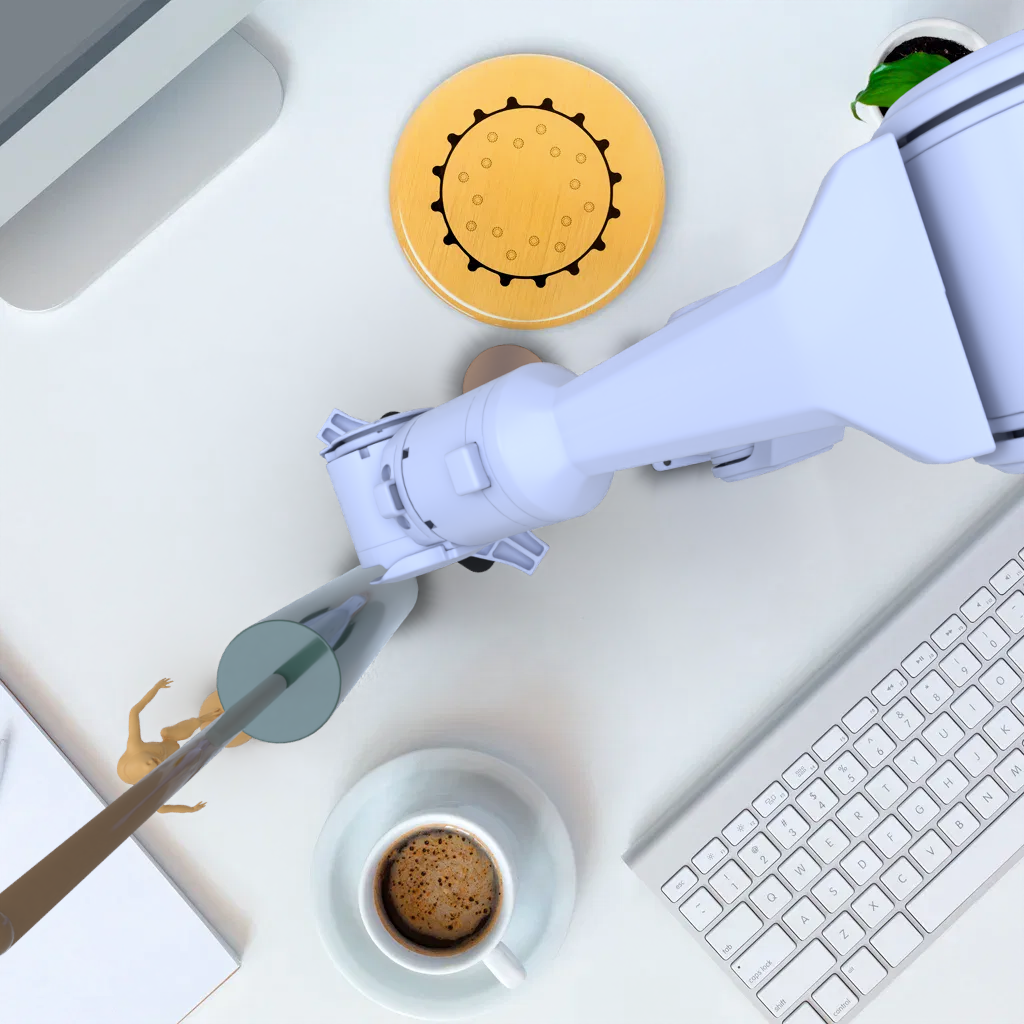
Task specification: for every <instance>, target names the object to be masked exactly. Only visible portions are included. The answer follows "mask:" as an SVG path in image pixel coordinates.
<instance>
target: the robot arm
mask: <svg viewBox="0 0 1024 1024" xmlns="http://www.w3.org/2000/svg"><path fill="white" fill-rule="evenodd" d="M846 428H851V429H855V430H856V431H859V432H860V431H861V432H863V433H864V434H866V435H868V436H870V437H872V438H874V439H876V440H877V441H879V442H881V443H883V444H884V445H886V446H888V447H889V448H891V449H893V450H895V451H897V452H898V453H900V454H902V455H904V456H905V457H907V458H909V459H911V460H912V461H914V462H917V463H921V464H924V465H949V464H955V463H959V462H962V461H966V460H970V459H973V460H974V462H975V463H978V464H980V465H984V466H989V467H991V468H993V469H996V470H998V471H1001V472H1002V473H1005V474H1008V475H1024V28H1023V29H1020V30H1018V31H1015V32H1012V33H1011V34H1008V35H1006V36H1004V37H1002V38H999V39H996V40H994V41H993V42H991V43H989V44H986V45H985V46H983V47H981V48H978V49H977V50H975V51H973V52H971V53H969V54H967V55H964V56H963V57H961V58H959V59H957V60H956V61H954V62H952V63H950V64H948V65H947V66H945V67H943V68H941V69H940V70H938V71H936V72H935V73H933V74H932V75H930V76H929V77H927V78H925V79H924V80H922V81H920V82H918V84H916V85H915V86H913V87H912V88H911V89H909V90H908V91H906V92H905V93H904V94H903V95H901V96H900V97H899V98H898V99H897V100H896V101H895V102H894V103H893V104H891V106H890V107H889V108H888V110H887V111H886V113H885V115H884V116H883V119H882V120H881V122H880V124H879V126H878V128H877V129H876V130H875V131H874V132H873V134H872V136H871V138H870V140H869V141H868V142H865V143H863V144H861V145H859V146H857V147H855V148H853V149H851V150H849V151H848V152H846V153H844V154H842V156H841V157H840V158H838V159H837V160H836V161H835V162H834V163H833V164H832V166H831V167H830V168H829V169H828V171H827V172H826V174H825V175H824V177H823V178H822V179H821V183H820V185H819V188H818V189H817V192H816V194H815V197H814V199H813V202H812V204H811V206H810V209H809V211H808V214H807V216H806V218H805V221H804V223H803V226H802V228H801V231H800V233H799V236H798V238H797V239H796V241H795V242H794V245H793V246H792V248H791V249H790V250H789V251H788V252H787V253H786V254H785V255H784V256H783V257H782V258H781V259H779V260H778V261H777V262H774V263H773V264H772V265H769V266H768V267H767V268H765V269H763V270H761V271H759V272H758V273H755V275H752V276H751V277H748V279H745V280H744V281H742V282H740V283H739V284H736V285H733V286H730V287H727V288H725V289H722V290H719V291H718V292H716V293H714V294H711V295H707V296H705V297H703V298H701V299H698V300H696V301H694V302H691V303H689V304H687V305H685V306H683V307H681V308H679V309H677V310H675V311H674V312H672V313H671V314H670V316H669V318H668V320H667V323H665V325H664V326H663V327H661V328H659V329H658V330H656V331H654V332H652V333H651V334H650V335H647V336H645V337H644V338H642V339H641V340H639V341H637V342H636V343H634V344H632V345H631V346H628V347H627V348H624V349H623V350H621V351H620V352H618V353H616V354H614V355H613V356H611V357H609V358H607V359H606V360H603V361H602V362H600V363H599V364H597V365H596V366H594V367H592V368H590V369H589V370H586V371H585V372H583V373H581V374H579V375H578V374H577V373H575V372H574V371H572V370H571V369H569V368H567V367H564V366H562V365H560V364H558V363H553V362H546V361H542V362H536V363H529V364H526V365H524V366H521V367H519V368H517V369H515V370H513V371H511V372H509V373H507V374H505V375H503V376H501V377H499V378H496V379H494V380H492V381H490V382H488V383H486V384H484V385H481V386H479V387H477V388H475V389H473V390H471V391H469V392H467V393H465V394H463V393H462V394H460V395H459V396H457V397H454V398H452V399H450V400H448V401H446V402H444V403H442V404H439V405H438V406H435V407H434V406H433V407H432V406H429V407H421V408H414V409H410V410H406V411H402V412H400V411H396V410H393V411H388V412H386V413H384V414H382V415H381V417H380V418H379V419H377V420H374V421H371V422H370V421H367V420H363V419H359V418H356V417H354V416H351V415H349V414H347V413H346V412H345V411H343V410H342V409H339V408H337V407H334V408H333V409H332V411H331V412H330V414H329V415H328V417H327V419H326V420H325V422H324V423H323V425H322V427H321V428H320V429H319V431H318V433H316V437H315V438H317V440H319V441H320V442H322V443H323V444H325V445H326V447H324V448H322V450H320V451H319V453H318V454H319V456H321V457H322V458H323V459H325V461H326V464H325V467H326V470H327V474H328V476H329V479H330V482H331V485H332V488H333V490H334V493H335V496H336V499H337V501H338V504H339V507H340V510H341V513H342V516H343V518H344V522H345V524H346V527H347V530H348V533H349V535H350V538H351V541H352V544H353V547H354V549H355V552H356V554H357V555H356V556H357V558H358V561H359V565H361V567H362V569H367V568H371V567H374V566H378V565H382V566H383V567H384V568H385V569H388V571H387V572H386V573H385V574H384V575H382V576H380V577H378V578H376V579H374V580H372V581H371V582H370V585H376V584H385V583H394V582H399V581H402V580H406V579H409V578H413V577H416V578H417V577H418V576H421V575H425V574H428V573H432V572H434V571H436V570H439V569H442V568H445V567H447V566H450V565H452V564H455V563H458V564H459V565H461V566H463V567H464V568H465V569H466V570H469V571H471V572H472V573H477V574H479V573H485V572H487V571H488V570H490V569H491V568H492V567H493V566H494V564H495V563H499V564H504V565H507V566H510V567H513V568H515V569H517V570H519V571H521V572H523V573H525V574H526V575H527V576H531V577H532V576H533V575H534V573H535V571H536V569H537V568H538V566H539V565H540V563H541V562H542V561H543V559H544V558H545V556H546V554H547V552H548V551H549V549H550V546H549V543H547V542H545V541H543V540H542V539H541V538H539V537H538V536H537V535H536V534H535V533H533V532H532V531H534V530H538V529H541V528H543V527H548V526H552V525H555V524H558V523H562V522H566V521H568V520H572V519H576V518H579V517H583V516H585V515H586V514H588V513H591V512H592V511H593V510H594V509H595V508H596V507H598V506H599V505H600V504H601V503H602V502H603V500H604V498H605V497H606V496H607V493H608V492H609V489H611V488H610V487H611V485H612V483H613V480H614V476H615V473H616V472H620V471H624V470H629V469H633V468H638V467H644V466H648V465H651V466H652V469H654V470H655V471H657V472H662V471H668V470H673V469H677V468H683V467H687V466H692V465H695V464H701V463H705V462H710V461H711V463H712V466H713V467H711V468H710V470H711V473H712V477H714V478H715V479H720V480H721V481H723V482H726V483H735V482H740V481H744V480H747V479H751V478H754V477H759V476H761V475H763V474H768V473H771V472H775V471H776V470H780V469H783V468H786V467H789V466H791V465H794V464H797V463H800V462H803V461H805V460H808V459H810V458H813V457H816V456H819V455H821V454H824V453H826V452H829V451H831V450H832V449H833V447H834V444H837V443H840V442H842V441H843V440H844V437H845V431H846ZM667 461H669V464H668V465H666V464H665V463H664V462H667Z"/></svg>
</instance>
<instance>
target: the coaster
mask: <svg viewBox="0 0 1024 1024" xmlns="http://www.w3.org/2000/svg"><path fill="white" fill-rule="evenodd" d="M536 362H543V360H542V359H541V358H540V357H539V356H538V355H537V354H536V353H535V352H533V351H531V350H529V349H528V348H526V347H523V346H521V345H516V344H499V345H495V346H492V347H489V348H487V349H486V350H483V351H481V352H480V353H479V354H478V355H476V357H475V358H474V359H473V360H472V361H471V363H470V364H469V366H468V367H467V369H466V372H465V374H464V378H463V383H462V395H463V394H465V393H467V392H469V391H471V390H473V389H475V388H477V387H479V386H481V385H484V384H486V383H488V382H490V381H492V380H494V379H496V378H499V377H501V376H503V375H505V374H507V373H509V372H511V371H513V370H515V369H517V368H519V367H521V366H524V365H526V364H529V363H536Z"/></svg>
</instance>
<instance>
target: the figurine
mask: <svg viewBox="0 0 1024 1024" xmlns="http://www.w3.org/2000/svg"><path fill="white" fill-rule="evenodd" d="M172 683H174V680H171V678H170V677H169V678H167V677H163V678H161V679H160V680H159V681H157V682H156V683H155V684H154V686H153V687H152V688H150V690H149V691H148V692H146V694H145V695H143V697H142V698H141V699H140V700H139V701H138V702H137V703H136V704H135V705H133V706H132V707H131V708H130V711H129V714H128V737H127V740H126V749H125V751H124V752H123V754H122V755H121V756H120V757H119V759H118V761H117V765H116V773H117V776H118V778H119V779H120V780H121V781H123V783H125V784H127V785H131V786H133V785H135V784H136V783H137V782H138V781H140V780H141V779H142V778H143V777H145V776H146V775H147V774H148V773H149V772H151V771H152V770H153V769H154V768H156V767H157V766H158V765H159V764H161V763H162V762H163V761H164V760H166V759H167V758H168V757H169V756H170V755H172V754H173V753H174V752H175V751H177V750H178V749H179V748H180V747H181V745H180V744H179V743H178V742H180V741H181V742H182V741H185V740H188V739H190V738H192V737H191V736H193V734H194V733H195V732H196V731H197V730H198V729H200V731H201V730H203V729H204V728H205V727H206V726H208V725H209V724H210V723H211V722H212V721H214V720H215V719H216V718H217V717H219V716H220V715H221V714H222V713H224V712H225V711H224V710H223V707H222V705H221V703H220V700H219V696H218V692H217V689H216V690H214V691H213V692H211V693H210V694H209V695H207V697H206V698H205V699H204V700H203V702H202V704H201V706H200V708H199V713H198V716H197V717H190V718H188V719H184V720H183V719H182V720H180V721H178V722H177V723H175V724H173V725H169V726H165V727H163V728H161V730H160V732H159V733H160V737H161V739H162V741H144V740H143V739H142V736H141V735H142V734H141V721H140V713H141V712H142V711H144V709H145V708H146V706H147V705H148V704H149V703H150V702H152V700H153V699H154V698H155V697H156V696H157V694H158V692H159V691H160V690H161V689H170V688H171V686H170V684H172ZM251 739H252V737H251V736H249V735H247V734H245V733H244V732H241V733H240V734H238V735H237V736H236V737H235V738H234V739H233V740H232V741H231V742H230V743H229V744H228V745H227V746H226V747H225V748H224V749H233V748H236V747H237V748H238V747H240V746H242V745H245V744H246V743H248V742H249V741H250V740H251ZM207 804H208V801H205V802H203V800H201V801H199V802H198V803H196V804H195V805H194V806H189V805H186V804H164V805H163V806H161V807H160V808H159V809H158V810H157V811H156V812H157V813H159V814H169V813H175V814H185V813H186V814H187V813H190V814H193V813H195V812H198V811H200V810H202V809H204V808H205V807H206V805H207Z"/></svg>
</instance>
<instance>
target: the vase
mask: <svg viewBox="0 0 1024 1024" xmlns="http://www.w3.org/2000/svg"><path fill="white" fill-rule="evenodd" d="M387 571H388V569H385V568H384V567H383V566H382V565H378V566H374V567H371V568H367V569H362V567H361V564H359V565H357V566H355V567H353V568H352V569H349V570H348V571H346V572H344V573H343V574H341V575H339V576H337V577H336V578H333V579H332V580H330V581H328V582H326V583H325V584H323V585H321V586H319V587H317V588H316V589H314V590H312V591H310V592H309V593H307V594H305V595H303V596H301V597H299V598H298V599H296V600H294V601H292V602H291V603H289V604H287V605H285V606H283V607H282V608H280V609H278V610H276V611H274V612H272V613H271V614H269V615H267V616H265V617H264V618H261V619H260V620H258V621H256V622H254V623H253V624H251V625H249V626H248V627H246V628H244V629H243V630H242V631H240V632H239V633H237V634H236V635H235V637H233V639H232V640H230V642H229V643H228V644H227V646H226V647H225V649H224V650H223V652H222V655H221V657H220V660H219V662H218V665H217V666H218V667H217V671H216V690H217V692H218V696H219V700H220V703H221V705H222V707H223V710H224V711H225V712H224V713H222V714H221V715H220V716H219V717H217V718H216V719H215V720H214V721H212V722H211V723H210V724H209V725H208V726H206V727H205V728H204V729H203V730H201V729H200V731H199V732H198V733H197V734H195V735H194V736H193V737H190V738H189V740H188V741H186V742H185V743H184V744H183V745H181V746H180V748H179V749H178V750H177V751H175V752H174V753H173V754H172V755H170V756H169V757H168V758H167V759H166V760H164V761H163V762H162V763H161V764H159V765H158V766H157V767H156V768H154V769H153V770H152V771H151V772H149V773H148V774H147V775H146V776H145V777H143V778H142V779H141V780H140V781H138V782H137V783H136V784H135V785H131V787H130V788H128V789H127V790H126V791H125V792H123V793H122V794H121V795H120V796H119V797H117V798H116V799H115V800H113V801H112V802H111V803H110V804H109V805H107V806H106V807H105V808H104V809H103V810H101V811H100V812H99V813H98V814H96V815H95V816H94V817H92V819H90V820H89V821H87V822H86V823H85V824H84V825H83V826H82V827H80V828H79V829H78V830H77V831H75V832H74V833H72V835H71V836H69V837H68V838H66V839H65V840H64V841H62V843H60V844H59V845H58V846H57V847H56V848H54V849H53V850H52V851H50V852H49V853H48V854H47V855H45V856H44V857H43V858H41V860H39V861H38V862H36V864H35V865H33V866H32V867H31V868H30V869H28V870H26V872H24V873H23V874H21V876H20V877H18V878H17V879H16V880H15V881H13V882H12V883H11V884H10V885H9V886H7V887H6V888H5V889H3V890H2V891H1V892H0V957H2V956H3V955H4V954H6V953H7V952H8V950H10V949H11V948H12V947H13V946H14V945H15V944H16V943H18V941H19V940H21V939H22V938H23V937H24V936H25V935H26V934H27V933H28V932H30V930H31V929H32V928H33V927H34V926H36V925H37V924H38V923H39V922H40V921H41V920H42V919H43V918H44V917H45V916H46V915H48V913H50V911H52V910H53V909H54V908H55V907H56V906H57V905H58V904H59V903H60V902H61V901H62V900H64V898H65V897H66V896H68V895H69V894H70V893H72V891H73V890H74V889H75V888H76V887H77V886H78V885H79V884H81V883H82V881H84V880H85V879H86V878H87V877H88V876H89V875H90V874H91V873H92V872H93V871H94V870H96V869H97V867H99V866H100V865H101V864H102V863H103V862H104V861H105V860H106V859H107V858H108V857H109V856H110V855H111V854H112V853H114V852H115V851H116V850H117V849H118V848H119V847H120V846H121V845H122V844H123V843H125V841H126V840H127V839H129V837H131V836H132V835H133V834H134V833H135V832H136V831H137V830H139V828H141V826H143V824H144V823H145V822H147V821H148V820H149V819H150V818H151V817H152V816H153V815H154V814H156V812H157V810H158V809H159V808H160V807H161V806H163V805H166V803H167V802H168V801H169V800H170V799H172V797H174V795H175V794H177V793H178V792H179V791H180V790H181V789H182V788H183V787H184V786H185V785H186V784H188V783H189V781H191V779H193V778H194V777H195V776H196V775H197V774H199V772H201V770H202V769H203V768H204V767H205V766H206V765H207V764H209V763H210V762H211V761H213V760H214V758H215V757H216V756H217V755H218V754H220V753H221V752H222V750H224V749H226V748H225V747H226V746H227V745H228V744H229V743H230V742H231V741H232V740H233V739H234V738H235V737H236V736H237V735H238V734H240V733H241V732H244V733H245V734H247V735H249V736H251V737H252V738H253V739H255V740H258V741H260V742H264V743H267V744H268V743H269V744H275V745H277V744H290V743H295V742H299V741H303V740H304V739H307V738H309V737H310V736H312V735H314V734H315V733H317V732H318V731H319V730H320V729H322V728H323V727H324V725H326V724H327V722H328V721H329V720H330V719H331V718H332V716H333V715H334V713H335V712H336V711H337V709H338V708H339V707H340V705H341V704H342V702H343V701H344V700H345V699H346V698H347V697H348V695H349V694H350V693H351V691H352V690H353V688H354V687H355V686H356V685H357V683H358V682H359V680H360V679H361V678H362V676H363V675H364V674H365V673H366V671H367V670H368V668H369V667H370V665H371V664H372V663H373V662H374V661H375V659H376V658H377V656H378V655H379V654H380V652H381V651H382V650H383V649H384V648H385V646H386V644H387V643H388V642H389V641H390V639H391V638H392V637H393V635H394V634H395V633H396V631H397V630H398V629H399V627H400V626H401V625H402V624H403V622H404V621H405V619H406V618H407V617H408V616H409V614H410V613H411V611H412V610H413V609H414V607H415V605H416V603H417V600H418V597H419V583H418V580H417V576H416V577H413V578H409V579H406V580H402V581H399V582H394V583H385V584H376V585H370V582H371V581H372V580H374V579H376V578H378V577H380V576H382V575H384V574H385V573H386V572H387ZM252 738H251V739H252Z"/></svg>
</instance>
